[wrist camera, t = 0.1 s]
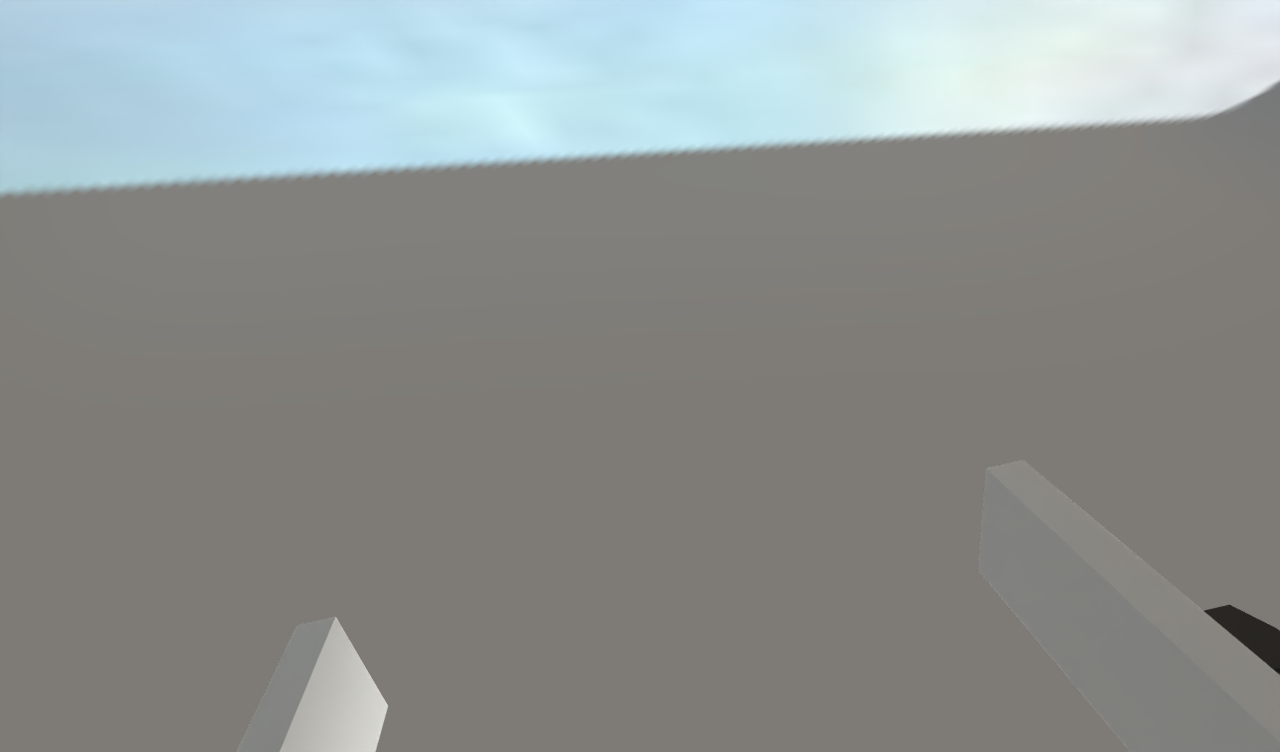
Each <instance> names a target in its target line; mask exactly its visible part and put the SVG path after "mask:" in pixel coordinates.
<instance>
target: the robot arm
mask: <svg viewBox="0 0 1280 752" xmlns="http://www.w3.org/2000/svg"><path fill="white" fill-rule="evenodd" d="M978 571H979V572H980V573H981V574H982V576H983V577H984V578H985V579H986V580H987V582H988V583H989V584H990V585H991V586H992V588H993V589H994V590H995V591H996V592H997V594H998V595H999V596H1000V597H1001V598H1002V599H1003V601H1004V602H1005V603H1006V604H1007V605H1008V607H1009V608H1010V609H1011V610H1012V611H1013V613H1014V614H1015V615H1016V616H1017V617H1018V618H1019V620H1020V621H1021V622H1022V623H1023V624H1024V626H1025V627H1026V628H1027V629H1028V631H1029V632H1030V633H1031V634H1032V635H1033V637H1034V638H1035V639H1036V640H1037V641H1038V642H1039V644H1040V645H1041V646H1042V647H1043V648H1044V650H1045V651H1046V652H1047V653H1048V654H1049V656H1050V657H1051V658H1052V659H1053V660H1054V662H1055V663H1056V664H1057V665H1058V666H1059V667H1060V669H1061V670H1062V671H1063V672H1064V674H1065V675H1066V676H1067V677H1068V678H1069V679H1070V681H1071V682H1072V683H1073V684H1074V685H1075V686H1076V688H1077V689H1078V690H1079V691H1080V692H1081V694H1082V695H1083V696H1084V697H1085V699H1086V700H1087V701H1088V702H1089V703H1090V705H1091V706H1092V707H1093V708H1094V709H1095V710H1096V712H1097V713H1098V714H1099V715H1100V716H1101V718H1102V719H1103V720H1104V721H1105V722H1106V724H1107V725H1108V726H1109V727H1110V728H1111V730H1112V731H1113V732H1114V733H1115V734H1116V736H1117V737H1118V738H1119V739H1120V740H1121V742H1122V743H1123V744H1124V745H1125V746H1126V747H1127V749H1128V750H1129V751H1130V752H1280V631H1279V630H1278V629H1276V628H1275V627H1273V626H1271V625H1269V624H1267V623H1265V622H1263V621H1261V620H1258V619H1257V618H1255V617H1253V616H1251V615H1249V614H1246V613H1245V612H1243V611H1241V610H1239V609H1237V608H1235V607H1233V606H1231V605H1226V606H1222V607H1218V608H1213V609H1209V610H1205V611H1203V610H1202V609H1200V608H1199V607H1198V606H1197V605H1196V604H1194V603H1193V602H1192V601H1191V600H1190V599H1189V598H1187V597H1186V596H1185V595H1184V594H1183V593H1181V592H1180V591H1179V590H1178V589H1177V588H1175V587H1174V586H1173V585H1172V584H1171V583H1169V582H1168V581H1167V580H1166V579H1165V578H1163V577H1162V576H1161V575H1160V574H1158V572H1156V571H1155V570H1154V569H1153V568H1152V567H1150V566H1149V565H1148V564H1147V563H1145V562H1144V561H1143V560H1142V559H1141V558H1140V557H1138V556H1137V555H1136V554H1135V553H1134V552H1132V551H1131V550H1130V549H1129V548H1128V547H1126V546H1125V545H1124V544H1123V543H1122V542H1121V541H1119V540H1118V539H1117V538H1116V537H1115V536H1113V535H1112V534H1111V533H1110V532H1108V531H1107V530H1106V529H1105V528H1104V527H1103V526H1101V525H1100V524H1099V523H1098V522H1097V521H1095V520H1094V519H1093V518H1092V517H1091V516H1090V515H1088V514H1087V513H1086V512H1085V511H1083V510H1082V509H1081V508H1080V507H1079V506H1077V505H1076V504H1075V503H1074V502H1073V501H1071V500H1070V499H1069V498H1068V497H1067V496H1066V495H1064V494H1063V493H1062V492H1061V491H1060V490H1058V489H1057V488H1056V487H1055V486H1054V485H1052V484H1051V483H1050V482H1049V481H1048V480H1047V479H1045V478H1044V477H1043V476H1042V475H1041V474H1039V473H1038V472H1037V471H1036V470H1035V469H1033V468H1032V467H1031V466H1030V465H1029V464H1027V463H1026V462H1025V461H1024V460H1021V461H1017V462H1013V463H1008V464H1004V465H999V466H995V467H991V468H987V469H986V478H985V490H984V501H983V514H982V526H981V538H980V550H979V562H978ZM387 707H388V705H387V704H386V702H385V700H384V699H383V697H382V695H381V694H380V692H379V690H378V688H377V687H376V685H375V683H374V681H373V680H372V678H371V677H370V675H369V673H368V671H367V670H366V668H365V666H364V664H363V663H362V661H361V659H360V658H359V656H358V654H357V652H356V651H355V649H354V647H353V646H352V644H351V642H350V640H349V639H348V637H347V635H346V634H345V632H344V630H343V629H342V627H341V625H340V623H339V622H338V620H337V618H336V617H332V618H327V619H323V620H319V621H314V622H310V623H305V624H301V625H297V626H296V628H295V630H294V632H293V634H292V637H291V639H290V641H289V643H288V645H287V647H286V649H285V651H284V653H283V656H282V657H281V660H280V662H279V664H278V666H277V668H276V670H275V672H274V674H273V676H272V678H271V680H270V683H269V685H268V687H267V689H266V691H265V693H264V695H263V697H262V700H261V701H260V703H259V706H258V708H257V710H256V712H255V714H254V716H253V719H252V720H251V722H250V724H249V726H248V729H247V731H246V733H245V735H244V737H243V739H242V741H241V743H240V746H239V748H238V750H237V752H375V751H376V747H377V744H378V740H379V737H380V733H381V729H382V725H383V722H384V718H385V715H386V711H387Z"/></svg>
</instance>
